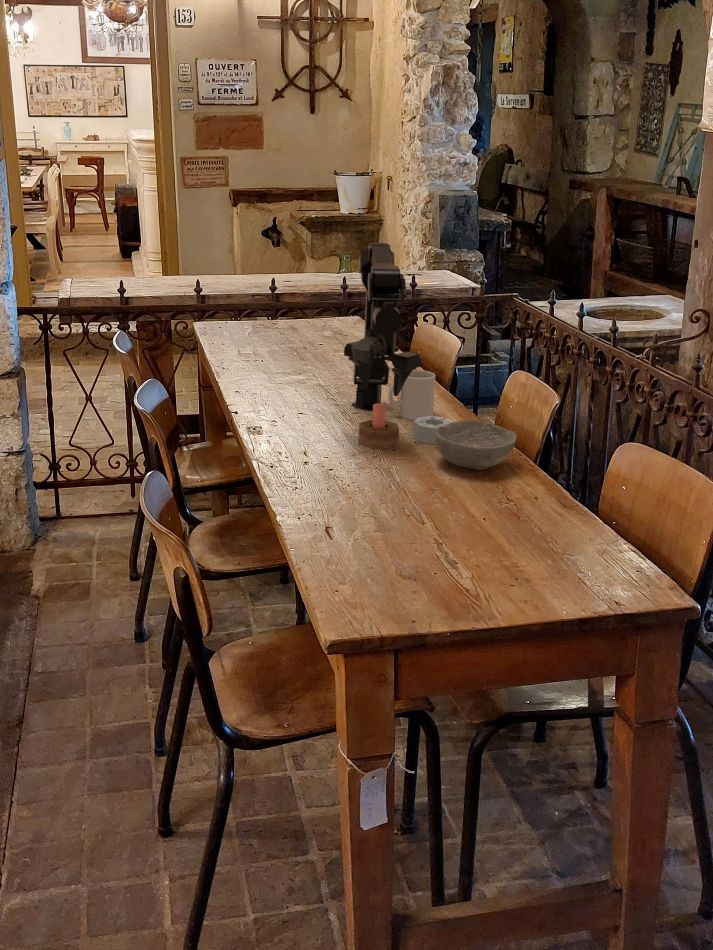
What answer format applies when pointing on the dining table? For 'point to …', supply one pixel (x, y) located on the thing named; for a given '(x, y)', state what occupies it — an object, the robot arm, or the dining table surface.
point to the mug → (415, 395)
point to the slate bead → (428, 428)
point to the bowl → (474, 443)
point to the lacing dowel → (379, 416)
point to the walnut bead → (378, 435)
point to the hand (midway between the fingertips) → (380, 391)
